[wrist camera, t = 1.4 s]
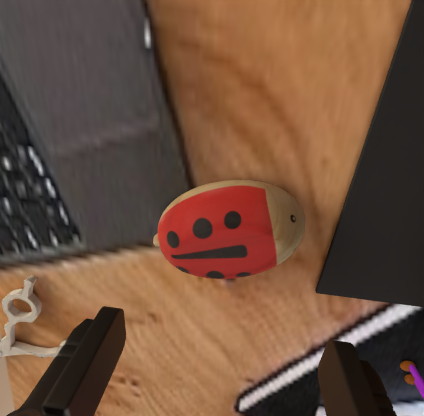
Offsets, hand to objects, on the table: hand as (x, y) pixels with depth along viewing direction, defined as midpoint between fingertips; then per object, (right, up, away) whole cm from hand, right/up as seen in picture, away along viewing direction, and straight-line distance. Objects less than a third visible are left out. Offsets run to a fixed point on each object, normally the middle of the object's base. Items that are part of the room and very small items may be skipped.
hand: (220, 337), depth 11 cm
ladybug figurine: (+1, +4, +8) cm, 9 cm away
